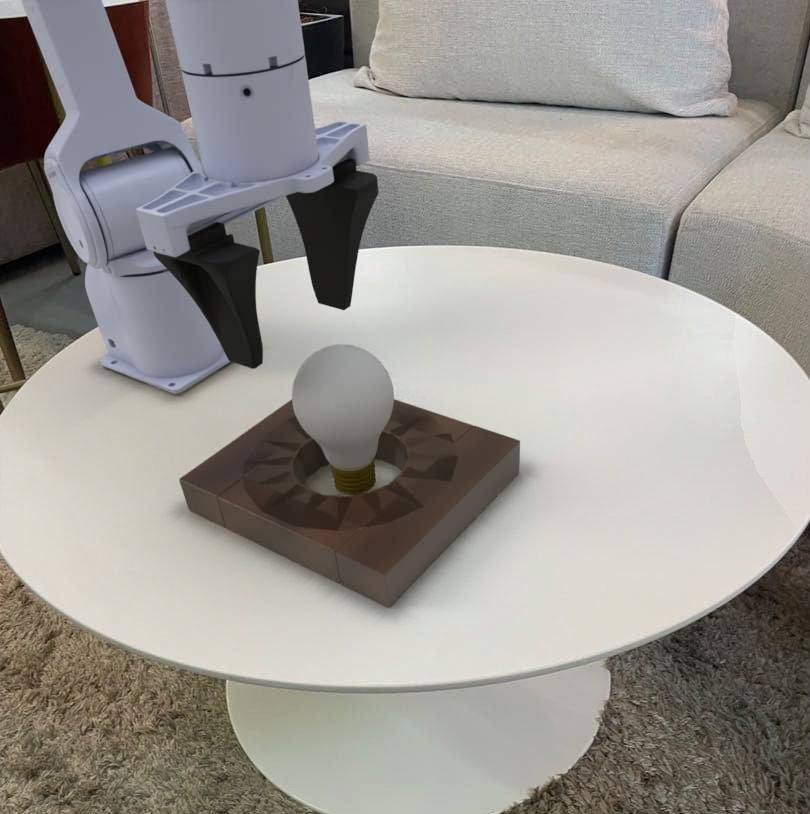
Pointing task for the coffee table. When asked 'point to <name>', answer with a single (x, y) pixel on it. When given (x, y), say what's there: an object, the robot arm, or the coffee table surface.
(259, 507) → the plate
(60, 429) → the coffee table surface
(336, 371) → the light bulb
